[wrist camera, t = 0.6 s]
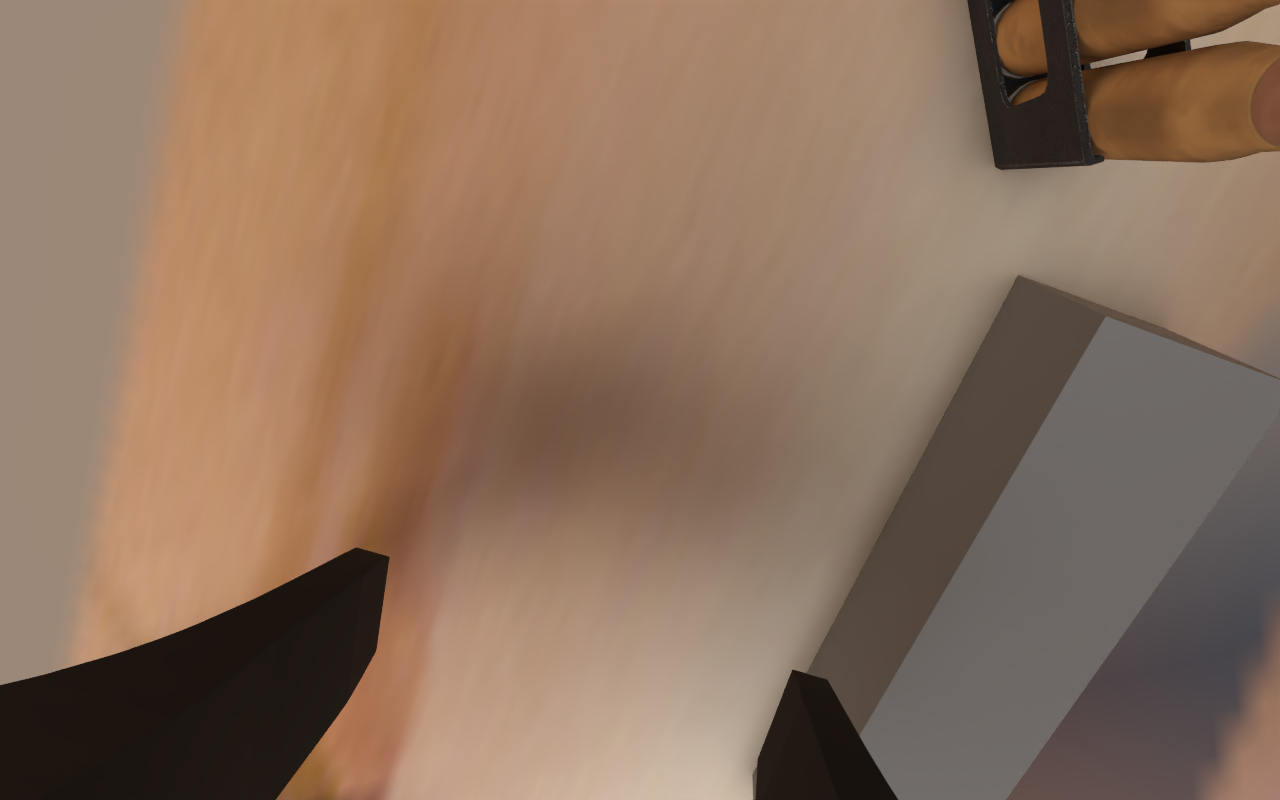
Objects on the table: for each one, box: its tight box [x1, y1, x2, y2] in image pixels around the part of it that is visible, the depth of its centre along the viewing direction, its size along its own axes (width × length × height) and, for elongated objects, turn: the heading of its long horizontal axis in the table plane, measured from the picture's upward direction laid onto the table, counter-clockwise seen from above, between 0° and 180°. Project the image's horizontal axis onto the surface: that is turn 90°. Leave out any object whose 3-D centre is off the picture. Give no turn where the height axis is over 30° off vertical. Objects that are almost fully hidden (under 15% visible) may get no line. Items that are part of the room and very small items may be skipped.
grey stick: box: [753, 275, 1280, 800], centre depth 20 cm, size 4×18×5 cm, turn 161°
